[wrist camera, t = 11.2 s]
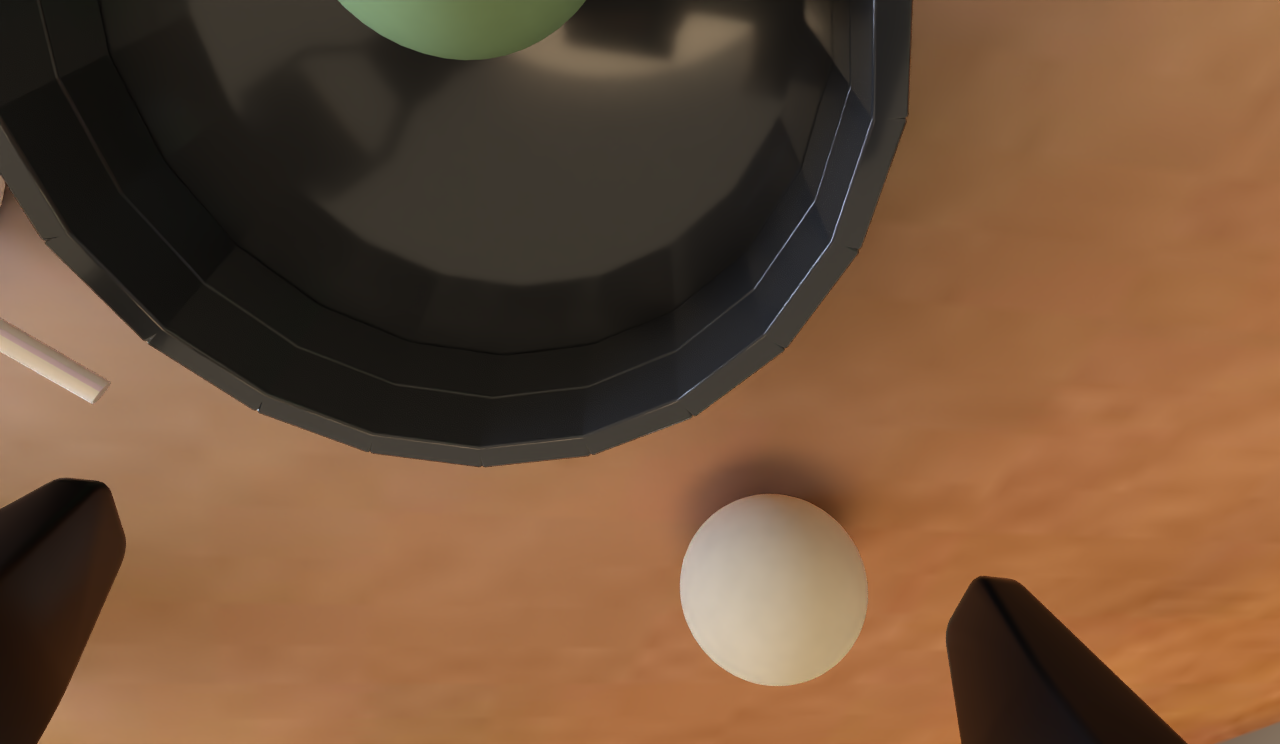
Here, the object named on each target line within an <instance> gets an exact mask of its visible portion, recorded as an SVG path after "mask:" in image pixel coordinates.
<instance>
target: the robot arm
mask: <svg viewBox="0 0 1280 744" xmlns="http://www.w3.org/2000/svg"><path fill="white" fill-rule="evenodd" d="M125 548H126V539H125V534H124V531H123V528H122V525H121V521H120V518H119V515H118V512H117V509H116V506H115V503H114V500H113V496H112V493H111V491H110V489H109V488H108V487H107V486H106V485H105V484H104V483H103V482H100V481H93V480H84V479H75V478H59V479H56V480H53V481H51V482H49V483H47V484H45V485H43V486H42V487H40V488H38V489H36V490H34V491H32V492H31V493H29V494H27V495H25V496H23V497H22V498H20V499H18V500H16V501H14V502H12V503H11V504H9V505H7V506H5V507H3V508H1V509H0V744H37V743H38V741H39V739H40V738H41V736H42V734H43V732H44V731H45V729H46V727H47V725H48V723H49V722H50V720H51V718H52V716H53V714H54V712H55V711H56V709H57V707H58V705H59V703H60V701H61V699H62V697H63V695H64V693H65V691H66V688H67V686H68V684H69V682H70V680H71V678H72V676H73V673H74V671H75V669H76V666H77V664H78V662H79V660H80V657H81V655H82V653H83V650H84V648H85V646H86V644H87V641H88V639H89V637H90V634H91V632H92V630H93V628H94V625H95V623H96V621H97V618H98V616H99V614H100V612H101V609H102V607H103V605H104V602H105V600H106V598H107V596H108V593H109V591H110V589H111V586H112V584H113V582H114V580H115V577H116V575H117V573H118V571H119V568H120V566H121V564H122V561H123V558H124V554H125ZM946 646H947V653H948V659H949V666H950V672H951V679H952V685H953V692H954V698H955V705H956V711H957V718H958V724H959V731H960V737H961V744H1187V743H1186V742H1185V741H1184V740H1183V739H1182V738H1181V737H1180V736H1179V735H1178V734H1177V733H1176V732H1175V731H1174V730H1173V729H1172V728H1171V727H1170V726H1169V725H1168V724H1166V723H1165V722H1164V721H1163V720H1162V719H1161V718H1160V717H1159V716H1158V715H1157V714H1156V713H1155V712H1154V711H1153V710H1152V709H1151V708H1150V707H1149V706H1148V705H1147V704H1146V703H1145V702H1144V701H1143V700H1142V699H1140V698H1139V697H1138V696H1137V695H1136V694H1135V693H1134V692H1133V691H1132V690H1131V689H1130V688H1129V687H1128V686H1127V685H1126V684H1125V683H1124V682H1123V681H1122V680H1121V679H1120V678H1119V677H1118V676H1117V675H1115V674H1114V673H1113V672H1112V671H1111V670H1110V669H1109V668H1108V667H1107V666H1106V665H1105V664H1104V663H1103V662H1102V661H1101V660H1100V659H1099V658H1098V657H1097V656H1096V655H1095V654H1094V653H1093V652H1092V651H1091V650H1089V649H1088V648H1087V647H1086V646H1085V645H1084V644H1083V643H1082V642H1081V641H1080V640H1079V639H1078V638H1077V637H1076V636H1075V635H1074V634H1073V633H1072V632H1071V631H1070V630H1069V629H1068V628H1067V627H1066V626H1064V625H1063V624H1062V623H1061V622H1060V621H1059V620H1058V619H1057V618H1056V617H1055V616H1054V615H1053V614H1052V613H1051V612H1050V611H1049V610H1048V609H1047V608H1046V607H1045V606H1044V605H1043V604H1042V603H1041V602H1040V601H1038V600H1037V599H1036V598H1035V597H1034V596H1033V595H1032V594H1031V593H1030V592H1029V591H1028V590H1027V589H1026V588H1025V587H1024V586H1023V585H1021V584H1020V583H1019V582H1017V581H1015V580H1012V579H1007V578H998V577H989V576H979V577H977V578H976V579H974V580H973V581H972V582H971V584H970V586H969V587H968V589H967V591H966V592H965V594H964V596H963V598H962V599H961V601H960V603H959V605H958V606H957V608H956V610H955V612H954V613H953V615H952V617H951V618H950V620H949V623H948V626H947V631H946Z"/></svg>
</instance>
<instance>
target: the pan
mask: <svg viewBox="0 0 1280 744" xmlns="http://www.w3.org/2000/svg"><path fill="white" fill-rule="evenodd" d="M912 15H913V0H586V1H585V2H584V3H583V5H582V6H581V7H580V8H579V10H578V11H577V12H576V13H575V14H574V15H573V16H572V17H571V18H570V19H569V20H568V21H566V22H565V23H564V24H563V25H562V26H561V27H560V28H559V29H557V30H556V31H555V32H553V33H552V34H550V35H549V36H547V37H546V38H545V39H543V40H541V41H539V42H537V43H535V44H534V45H532V46H530V47H528V48H526V49H523V50H520V51H517V52H514V53H512V54H509V55H506V56H500V57H495V58H490V59H481V60H457V59H446V58H441V57H437V56H432V55H428V54H424V53H421V52H418V51H415V50H412V49H410V48H407V47H404V46H401V45H399V44H397V43H395V42H394V41H392V40H390V39H388V38H386V37H384V36H382V35H380V34H379V33H377V32H376V31H374V30H373V29H371V28H370V27H368V26H367V25H365V24H364V23H362V22H361V21H360V20H359V19H358V18H356V17H355V16H354V15H353V14H352V13H351V12H349V11H348V10H347V9H346V8H345V7H344V6H343V5H342V4H341V3H340V2H339V1H338V0H0V175H1V176H2V178H3V179H4V181H5V183H6V184H7V186H8V187H9V189H10V190H11V192H12V194H13V195H14V197H15V198H16V200H17V201H18V203H19V205H20V206H21V208H22V209H23V211H24V212H25V214H26V216H27V217H28V219H29V220H30V222H31V223H32V225H33V227H34V228H35V230H36V231H37V233H38V234H39V236H40V238H41V239H42V240H45V244H46V245H47V246H48V247H49V248H50V249H51V250H52V251H53V252H54V253H55V254H56V255H57V256H58V257H59V258H60V259H61V260H62V261H63V262H64V263H65V264H66V265H67V266H68V267H69V268H70V269H71V270H72V271H73V272H74V273H75V274H76V275H77V276H78V277H79V278H80V279H81V280H82V281H83V282H84V283H85V284H86V285H87V286H88V287H89V288H90V289H91V290H92V291H93V292H94V293H95V294H96V295H97V296H98V297H99V298H100V299H102V300H103V301H104V302H105V303H106V304H107V305H108V306H109V307H110V308H111V309H112V310H113V311H114V312H115V313H116V314H117V315H118V316H119V317H120V318H121V319H122V320H123V321H124V322H125V323H126V324H127V325H128V326H129V327H130V328H131V329H132V330H133V331H134V332H135V333H136V334H137V335H138V336H139V337H140V338H141V339H142V340H144V341H148V342H147V343H148V344H149V345H150V346H152V347H154V348H155V349H157V350H158V351H160V352H162V353H163V354H165V355H166V356H168V357H169V358H171V359H173V360H174V361H176V362H177V363H179V364H181V365H182V366H184V367H185V368H187V369H189V370H190V371H192V372H193V373H195V374H197V375H198V376H200V377H201V378H203V379H204V380H206V381H208V382H209V383H211V384H212V385H214V386H216V387H217V388H219V389H220V390H222V391H224V392H225V393H227V394H228V395H230V396H231V397H233V398H235V399H236V400H238V401H239V402H241V403H243V404H244V405H246V406H247V407H249V408H251V409H252V410H255V411H256V410H258V412H259V413H260V414H263V415H266V416H269V417H271V418H274V419H277V420H280V421H282V422H285V423H288V424H291V425H293V426H296V427H299V428H302V429H304V430H307V431H310V432H313V433H315V434H318V435H321V436H324V437H326V438H329V439H332V440H335V441H337V442H340V443H343V444H346V445H348V446H351V447H354V448H357V449H359V450H362V451H365V452H369V451H370V452H371V453H373V454H380V455H388V456H396V457H404V458H411V459H419V460H427V461H435V462H443V463H450V464H458V465H466V466H474V467H481V466H483V467H492V466H502V465H511V464H520V463H529V462H539V461H548V460H557V459H567V458H576V457H585V456H590V455H591V454H592V455H595V454H598V453H600V452H603V451H605V450H608V449H611V448H613V447H616V446H619V445H621V444H624V443H627V442H629V441H632V440H635V439H637V438H640V437H643V436H645V435H648V434H651V433H653V432H656V431H658V430H661V429H664V428H666V427H669V426H672V425H674V424H677V423H680V422H682V421H685V420H688V419H690V418H692V417H693V416H697V415H698V414H699V413H701V412H702V411H703V410H705V409H706V408H707V407H709V406H710V405H711V404H713V403H714V402H716V401H717V400H718V399H720V398H721V397H722V396H724V395H725V394H726V393H728V392H729V391H731V390H732V389H733V388H735V387H736V386H737V385H739V384H740V383H741V382H743V381H744V380H745V379H747V378H748V377H750V376H751V375H752V374H754V373H755V372H756V371H758V370H759V369H760V368H762V367H763V366H765V365H766V364H767V363H769V362H770V361H771V360H773V359H774V358H775V357H777V356H778V355H779V354H781V353H782V352H783V351H784V350H785V348H787V347H788V346H789V345H790V343H791V342H792V341H793V339H794V338H795V337H796V335H797V334H798V333H799V331H800V330H801V329H802V327H803V326H804V325H805V323H806V322H807V321H808V319H809V318H810V317H811V316H812V314H813V313H814V312H815V310H816V309H817V308H818V306H819V305H820V304H821V302H822V301H823V300H824V298H825V297H826V296H827V294H828V293H829V292H830V290H831V289H832V288H833V286H834V285H835V284H836V282H837V281H838V280H839V278H840V277H841V276H842V274H843V273H844V272H845V270H846V269H847V268H848V266H849V265H850V264H851V262H852V261H853V260H854V258H855V257H856V256H857V254H858V253H859V249H860V248H861V247H862V245H863V242H864V239H865V236H866V234H867V231H868V228H869V225H870V222H871V220H872V217H873V214H874V211H875V209H876V206H877V203H878V200H879V197H880V195H881V192H882V189H883V186H884V183H885V181H886V178H887V175H888V172H889V170H890V167H891V164H892V161H893V158H894V156H895V153H896V150H897V147H898V144H899V142H900V139H901V136H902V133H903V131H904V128H905V125H906V122H907V120H906V118H907V117H908V114H909V91H910V65H911V40H912Z"/></svg>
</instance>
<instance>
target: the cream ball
mask: <svg viewBox="0 0 1280 744" xmlns="http://www.w3.org/2000/svg"><path fill="white" fill-rule="evenodd" d="M680 596H681V603H682V608H683V612H684V615H685V619H686V621H687V624H688V626H689V628H690V630H691V632H692V635H693V636H694V638H695V639H696V641H697V642H698V644H699V645H700V647H701V648H702V650H703V651H704V652H705V653H706V654H707V655H708V656H709V657H710V658H711V659H712V660H713V661H714V662H715V663H716V664H718V665H719V666H720V667H722V668H723V669H725V670H726V671H728V672H729V673H731V674H733V675H735V676H737V677H739V678H741V679H744V680H746V681H749V682H752V683H756V684H761V685H768V686H788V685H795V684H799V683H803V682H806V681H809V680H812V679H814V678H817V677H819V676H820V675H822V674H824V673H826V672H827V671H828V670H830V669H831V668H833V667H834V666H835V665H836V664H838V663H839V662H840V661H841V660H842V659H843V657H844V656H845V655H846V654H847V653H848V652H849V651H850V649H851V648H852V646H853V645H854V643H855V641H856V640H857V638H858V636H859V634H860V631H861V629H862V626H863V623H864V620H865V616H866V611H867V605H868V582H867V577H866V572H865V567H864V564H863V561H862V559H861V556H860V554H859V551H858V549H857V547H856V545H855V544H854V542H853V540H852V539H851V537H850V536H849V534H848V533H847V532H846V531H845V529H844V528H843V527H842V526H841V525H840V524H839V523H838V522H837V521H836V520H835V519H834V518H833V517H831V516H830V515H829V514H828V513H826V512H825V511H824V510H822V509H820V508H819V507H817V506H815V505H813V504H811V503H809V502H807V501H805V500H802V499H799V498H796V497H792V496H787V495H781V494H759V495H753V496H748V497H745V498H742V499H739V500H736V501H734V502H732V503H730V504H728V505H726V506H724V507H722V508H721V509H719V510H718V511H717V512H715V513H714V514H713V515H712V516H711V517H710V518H709V519H707V520H706V521H705V522H704V523H703V525H702V526H701V527H700V528H699V529H698V531H697V532H696V534H695V535H694V537H693V539H692V540H691V542H690V544H689V547H688V549H687V552H686V554H685V557H684V560H683V565H682V570H681V575H680Z"/></svg>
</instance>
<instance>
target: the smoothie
mask: <svg viewBox="0 0 1280 744" xmlns="http://www.w3.org/2000/svg"><path fill="white" fill-rule="evenodd" d="M4 189H5V181H4V179H3V178H2V176H1V175H0V207H1V204H2V199H3V194H4ZM0 352H1V353H3V354H5V355H7V356H8V357H10V358H12V359H14V360H15V361H17V362H19V363H21V364H22V365H24V366H26V367H28V368H29V369H31V370H33V371H35V372H37V373H38V374H40V375H42V376H44V377H45V378H47V379H49V380H51V381H52V382H54V383H56V384H58V385H59V386H61V387H63V388H65V389H66V390H68V391H70V392H72V393H74V394H75V395H77V396H79V397H81V398H82V399H84V400H86V401H88V402H89V403H91V404H94V403H95V402H97V401H98V400H99V399H100V398H101V396H102V395H103V394H104V393H105V392H106V390H107V389H108V387H109V386H110V384H111V382H110V381H108V380H107V379H105V378H103V377H101V376H100V375H98V374H96V373H95V372H93V371H91V370H89V369H88V368H86V367H84V366H82V365H81V364H79V363H77V362H76V361H74V360H72V359H70V358H69V357H67V356H65V355H64V354H62V353H60V352H58V351H57V350H55V349H53V348H51V347H50V346H48V345H46V344H45V343H43V342H41V341H39V340H38V339H36V338H34V337H32V336H31V335H29V334H27V333H26V332H24V331H22V330H20V329H19V328H17V327H15V326H14V325H12V324H10V323H8V322H7V321H5V320H3V319H1V318H0Z"/></svg>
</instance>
